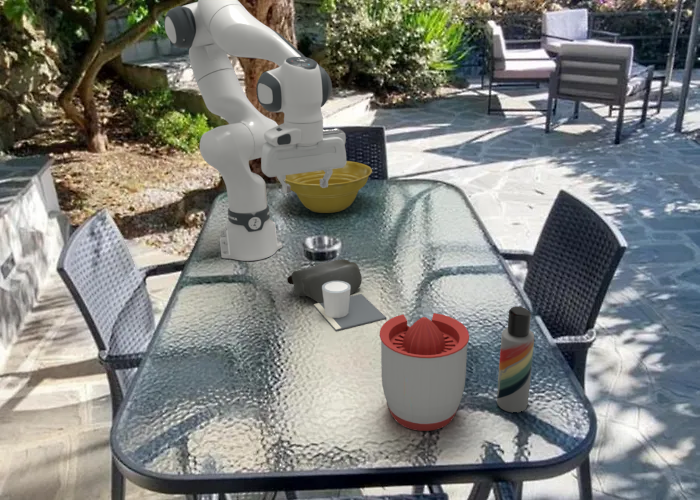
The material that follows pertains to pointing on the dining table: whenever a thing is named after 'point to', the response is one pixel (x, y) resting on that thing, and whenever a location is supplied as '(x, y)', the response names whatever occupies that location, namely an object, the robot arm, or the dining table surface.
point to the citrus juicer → (423, 370)
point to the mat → (353, 313)
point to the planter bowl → (330, 187)
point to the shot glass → (336, 298)
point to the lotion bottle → (515, 361)
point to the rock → (325, 278)
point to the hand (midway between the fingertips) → (305, 189)
